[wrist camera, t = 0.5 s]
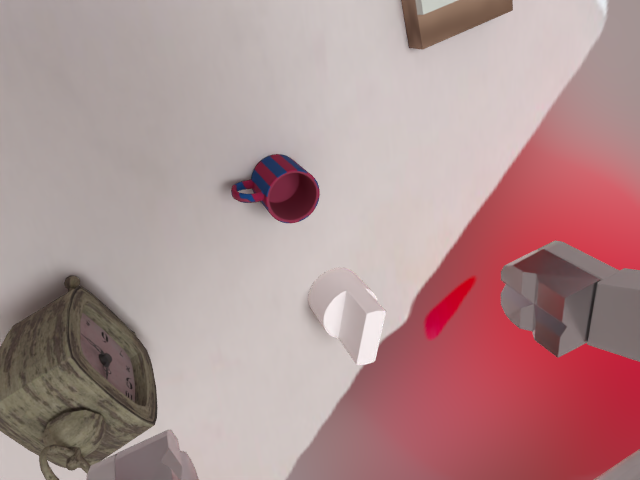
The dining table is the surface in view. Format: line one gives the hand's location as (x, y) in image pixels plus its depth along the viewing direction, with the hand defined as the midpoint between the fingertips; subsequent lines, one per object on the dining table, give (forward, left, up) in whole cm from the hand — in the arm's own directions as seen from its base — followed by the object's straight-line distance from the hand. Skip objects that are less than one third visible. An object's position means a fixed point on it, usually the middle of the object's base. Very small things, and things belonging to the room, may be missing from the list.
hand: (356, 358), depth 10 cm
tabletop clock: (+22, -22, -46) cm, 55 cm away
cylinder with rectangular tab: (+37, +10, -46) cm, 60 cm away
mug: (+15, +6, -46) cm, 49 cm away
